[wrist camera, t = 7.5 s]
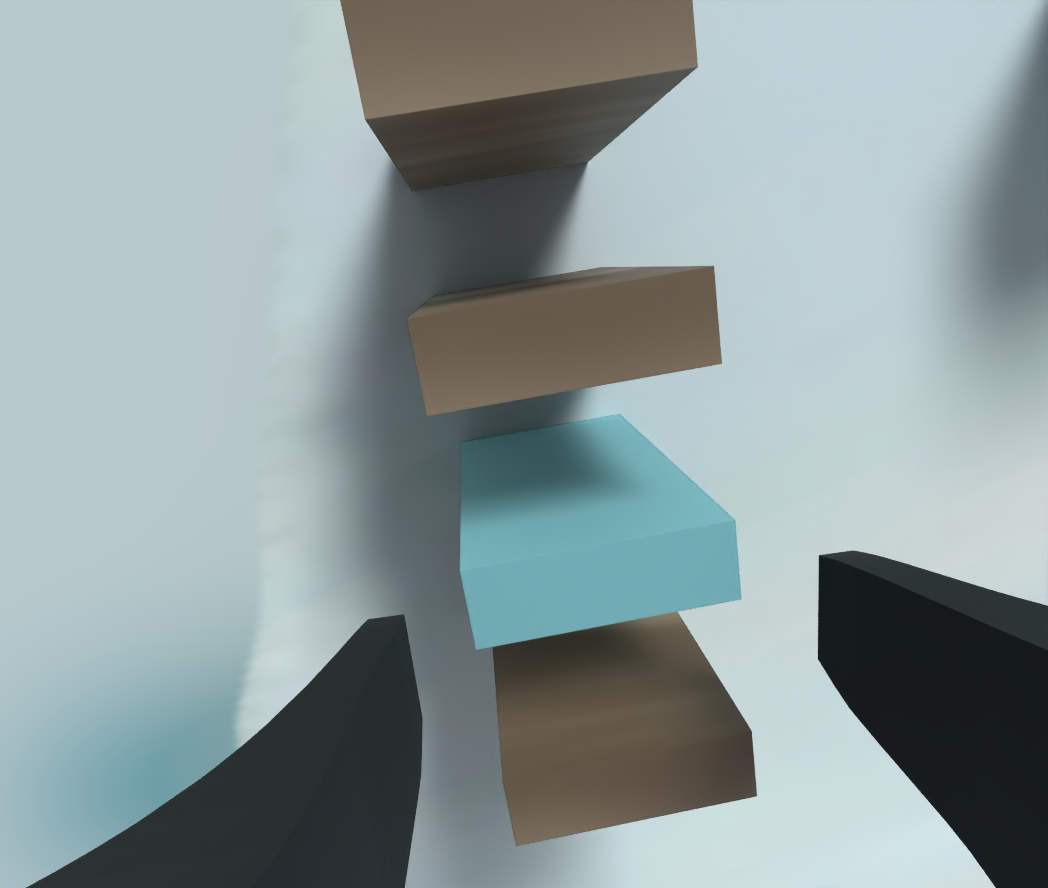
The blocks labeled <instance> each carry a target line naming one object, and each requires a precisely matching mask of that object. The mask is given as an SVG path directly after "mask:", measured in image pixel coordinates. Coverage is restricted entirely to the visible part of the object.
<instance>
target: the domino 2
mask: <svg viewBox="0 0 1048 888" xmlns="http://www.w3.org/2000/svg"><path fill="white" fill-rule="evenodd" d="M460 574H461V579H462V584H463V589H464V594H465V599H466V604H467V609H468V613H469V618H470V623H471V628H472V633H473V638H474V643H475V648H476V650H479V649H484V648H489V647H494V646H500V645H505V644H510V643H515V642H521V641H526V640H531V639H536V638H541V637H547V636H552V635H557V634H562V633H568V632H573V631H578V630H583V629H589V628H594V627H599V626H604V625H609V624H615V623H620V622H625V621H630V620H636V619H641V618H646V617H651V616H656V615H662V614H667V613H672V612H677V611H683V610H688V609H693V608H698V607H704V606H709V605H714V604H719V603H724V602H730V601H735V600H740V599H741V588H740V575H739V562H738V549H737V536H736V524H735V519H734V518H732V517H731V516H730V515H729V514H728V513H727V512H726V511H725V510H724V509H723V508H722V507H721V506H719V505H718V504H717V503H716V502H715V501H714V500H713V499H712V498H711V497H710V496H709V495H707V494H706V493H705V492H704V491H703V490H702V489H701V488H700V487H699V486H698V485H697V484H696V483H694V482H693V481H692V480H691V479H690V478H689V477H688V476H687V475H686V474H685V473H684V472H683V471H681V470H680V469H679V468H678V467H677V466H676V465H675V464H674V463H673V462H672V461H671V460H670V459H668V458H667V457H666V456H665V455H664V454H663V453H662V452H661V451H660V450H659V449H658V448H657V447H655V446H654V445H653V444H652V443H651V442H650V441H649V440H648V439H647V438H646V437H645V436H643V435H642V434H641V433H640V432H639V431H638V430H637V429H636V428H635V427H634V426H633V425H632V424H630V423H629V422H628V421H627V420H626V419H625V418H624V417H623V416H622V415H621V414H618V415H612V416H607V417H601V418H596V419H590V420H584V421H579V422H573V423H567V424H562V425H556V426H550V427H545V428H539V429H533V430H528V431H522V432H517V433H511V434H505V435H500V436H494V437H488V438H483V439H477V440H471V441H466V442H462V456H461V527H460Z"/></svg>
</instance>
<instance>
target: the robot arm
mask: <svg viewBox="0 0 1048 888" xmlns="http://www.w3.org/2000/svg"><path fill="white" fill-rule="evenodd" d="M818 660H819V661H820V663H821V665H822V666H823V668H824V669H825V671H826V673H827V674H828V676H829V678H830V679H831V681H832V682H833V684H834V686H835V687H836V689H837V690H838V692H839V693H840V695H841V696H842V698H843V699H844V701H845V702H846V704H847V705H848V707H849V708H850V709H851V711H852V712H853V713H854V714H855V716H856V717H857V718H858V719H859V720H860V722H861V723H862V724H863V725H864V726H865V728H866V729H867V730H868V731H869V732H870V733H871V735H872V736H873V737H874V738H875V739H876V741H877V742H878V743H879V744H880V745H881V747H882V748H883V749H884V750H885V751H886V752H887V753H888V755H889V756H890V757H891V758H892V759H893V760H894V762H895V763H896V764H897V765H898V766H899V767H900V769H901V770H902V771H903V772H904V773H905V774H906V776H907V777H908V778H909V779H910V780H911V781H912V783H913V784H914V785H915V786H916V787H917V788H918V790H919V791H920V792H921V793H922V794H923V795H924V796H925V798H926V799H927V800H928V801H929V802H930V803H931V805H932V806H933V807H934V808H935V809H936V810H937V812H938V813H939V814H940V815H941V816H942V817H943V819H944V820H945V821H946V822H947V823H948V825H949V826H950V827H951V828H952V830H953V831H954V832H955V833H956V835H957V836H958V837H959V838H960V840H961V841H962V842H963V843H964V845H965V846H966V847H967V848H968V850H969V851H970V852H971V854H972V855H973V856H974V858H975V859H976V861H977V862H978V863H979V865H980V866H981V868H982V869H983V870H984V872H985V873H986V875H987V876H988V877H989V879H990V880H991V882H992V883H993V884H994V886H995V887H996V888H1048V606H1047V605H1043V604H1039V603H1036V602H1032V601H1028V600H1024V599H1021V598H1017V597H1014V596H1010V595H1007V594H1003V593H1000V592H996V591H993V590H990V589H986V588H983V587H980V586H976V585H973V584H970V583H967V582H963V581H960V580H957V579H954V578H950V577H947V576H944V575H941V574H938V573H934V572H931V571H928V570H925V569H921V568H918V567H915V566H912V565H908V564H905V563H902V562H898V561H895V560H891V559H888V558H884V557H881V556H877V555H873V554H868V553H864V552H858V551H846V552H839V553H832V554H825V555H819V602H818ZM421 762H422V713H421V708H420V702H419V696H418V691H417V685H416V679H415V674H414V668H413V662H412V657H411V651H410V645H409V639H408V634H407V628H406V622H405V617H404V614H403V615H396V616H389V617H382V618H375V619H368V620H367V621H366V622H365V623H364V624H363V625H362V626H361V627H360V628H359V629H358V630H357V631H356V632H355V633H354V635H353V636H352V637H351V638H350V639H349V640H348V641H347V642H346V644H345V645H344V646H343V647H342V648H341V649H340V650H339V651H338V653H337V654H336V655H335V656H334V657H333V658H332V659H331V660H330V661H329V662H328V663H327V665H326V666H325V667H324V668H323V669H322V670H321V671H320V672H319V673H318V674H317V675H316V676H315V677H314V679H313V680H312V681H311V682H310V683H309V684H308V685H307V686H306V687H305V688H304V689H303V690H302V691H301V692H300V693H299V694H298V695H297V696H296V697H295V698H294V699H293V700H291V701H290V702H289V703H288V704H287V705H286V706H285V707H284V708H283V709H282V710H281V711H280V712H279V713H278V714H277V715H276V716H275V717H274V718H273V719H272V720H271V721H270V722H269V723H268V724H267V725H266V726H264V727H263V728H262V729H261V730H260V731H259V732H258V733H257V734H255V735H254V736H253V737H252V738H251V739H250V740H248V741H247V742H246V743H245V744H244V745H243V746H241V747H240V748H239V749H238V750H236V751H235V752H234V753H233V754H231V755H230V756H229V757H228V758H226V759H225V760H224V761H223V762H221V763H220V764H219V765H218V766H216V767H215V768H214V769H213V770H211V771H210V772H209V773H207V774H206V775H205V776H203V777H202V778H201V779H199V780H198V781H197V782H195V783H194V784H192V785H191V786H189V787H188V788H187V789H185V790H184V791H183V792H181V793H179V794H178V795H176V796H175V797H174V798H172V799H171V800H169V801H168V802H166V803H165V804H163V805H162V806H161V807H159V808H158V809H157V810H155V811H154V812H152V813H150V814H149V815H148V816H146V817H145V818H143V819H142V820H140V821H139V822H137V823H136V824H134V825H133V826H131V827H129V828H128V829H126V830H125V831H123V832H121V833H120V834H118V835H116V836H115V837H113V838H112V839H110V840H108V841H107V842H105V843H104V844H102V845H100V846H99V847H97V848H95V849H94V850H92V851H90V852H88V853H87V854H85V855H83V856H82V857H80V858H78V859H77V860H75V861H73V862H71V863H69V864H68V865H66V866H64V867H63V868H61V869H59V870H57V871H56V872H54V873H52V874H50V875H49V876H47V877H45V878H43V879H41V880H39V881H37V882H36V883H34V884H32V885H30V886H29V887H26V888H405V882H406V875H407V868H408V861H409V855H410V848H411V841H412V835H413V828H414V821H415V815H416V808H417V801H418V794H419V787H420V779H421Z"/></svg>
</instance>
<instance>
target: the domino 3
mask: <svg viewBox="0 0 1048 888" xmlns="http://www.w3.org/2000/svg"><path fill="white" fill-rule="evenodd" d="M493 658H494V671H495V684H496V698H497V711H498V724H499V738H500V751H501V764H502V778H503V785H504V790H505V794H506V799H507V804H508V809H509V814H510V818H511V823H512V828H513V833H514V838H515V842H516V846H519V845H524V844H529V843H534V842H538V841H543V840H548V839H553V838H558V837H562V836H567V835H572V834H577V833H582V832H587V831H591V830H596V829H601V828H606V827H611V826H616V825H620V824H625V823H630V822H635V821H640V820H644V819H649V818H654V817H659V816H664V815H669V814H673V813H678V812H683V811H688V810H693V809H698V808H702V807H707V806H712V805H717V804H722V803H726V802H731V801H736V800H741V799H746V798H751V797H755V796H757V791H756V779H755V767H754V755H753V742H752V731H751V729H750V728H749V726H748V724H747V723H746V721H745V720H744V718H743V716H742V715H741V713H740V712H739V710H738V708H737V707H736V705H735V704H734V702H733V700H732V699H731V697H730V695H729V694H728V692H727V691H726V689H725V687H724V686H723V684H722V683H721V681H720V679H719V678H718V676H717V675H716V673H715V671H714V670H713V668H712V667H711V665H710V663H709V662H708V660H707V659H706V657H705V655H704V654H703V652H702V650H701V649H700V647H699V646H698V644H697V642H696V641H695V639H694V638H693V636H692V634H691V633H690V631H689V630H688V628H687V626H686V625H685V623H684V622H683V620H682V618H681V617H680V615H679V614H678V612H672V613H667V614H662V615H656V616H651V617H646V618H641V619H636V620H630V621H625V622H620V623H615V624H609V625H604V626H599V627H594V628H589V629H583V630H578V631H573V632H568V633H562V634H557V635H552V636H547V637H541V638H536V639H531V640H526V641H521V642H515V643H510V644H505V645H500V646H494V647H493Z"/></svg>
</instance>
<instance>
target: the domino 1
mask: <svg viewBox="0 0 1048 888" xmlns="http://www.w3.org/2000/svg"><path fill="white" fill-rule="evenodd" d="M407 323H408V328H409V333H410V338H411V343H412V347H413V352H414V357H415V362H416V367H417V371H418V376H419V381H420V386H421V391H422V395H423V400H424V405H425V410H426V415H427V416H432V415H437V414H443V413H449V412H454V411H460V410H465V409H471V408H477V407H482V406H488V405H493V404H499V403H505V402H510V401H516V400H521V399H527V398H533V397H538V396H544V395H549V394H555V393H561V392H566V391H572V390H577V389H583V388H589V387H594V386H600V385H605V384H611V383H617V382H622V381H628V380H633V379H639V378H645V377H650V376H656V375H661V374H667V373H673V372H678V371H684V370H689V369H695V368H701V367H706V366H712V365H717V364H722V360H721V348H720V336H719V323H718V311H717V299H716V286H715V274H714V266H683V267H600V268H595V269H589V270H583V271H577V272H571V273H565V274H559V275H554V276H548V277H542V278H536V279H530V280H524V281H518V282H513V283H507V284H501V285H495V286H489V287H483V288H477V289H472V290H466V291H460V292H454V293H448V294H442V295H436V296H432V297H431V298H430V299H429V300H428V301H427V302H425V303H424V304H423V305H422V306H421V307H420V308H419V309H417V310H416V311H415V312H414V313H413V314H412V315H411V316H409V317H408V318H407Z"/></svg>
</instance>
